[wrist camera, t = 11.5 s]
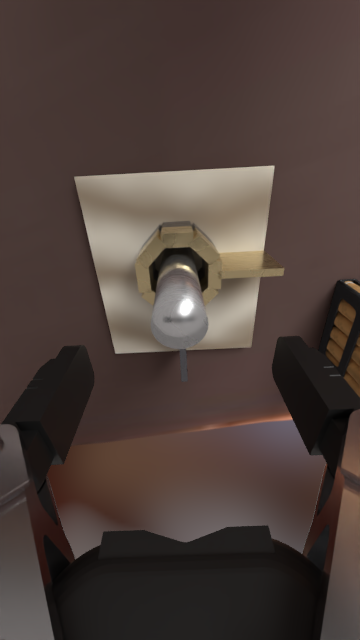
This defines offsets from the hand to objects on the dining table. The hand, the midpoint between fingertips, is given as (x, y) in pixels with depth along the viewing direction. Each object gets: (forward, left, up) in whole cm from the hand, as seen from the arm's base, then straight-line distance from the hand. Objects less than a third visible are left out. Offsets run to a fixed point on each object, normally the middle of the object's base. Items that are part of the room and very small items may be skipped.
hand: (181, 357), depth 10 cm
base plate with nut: (+2, 0, -16) cm, 16 cm away
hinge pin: (0, 0, -15) cm, 15 cm away
